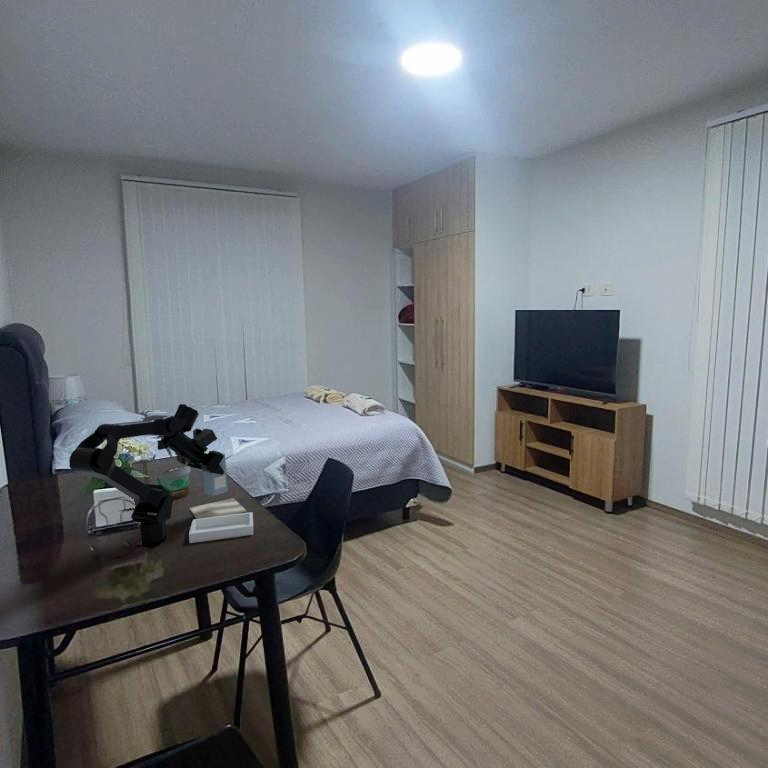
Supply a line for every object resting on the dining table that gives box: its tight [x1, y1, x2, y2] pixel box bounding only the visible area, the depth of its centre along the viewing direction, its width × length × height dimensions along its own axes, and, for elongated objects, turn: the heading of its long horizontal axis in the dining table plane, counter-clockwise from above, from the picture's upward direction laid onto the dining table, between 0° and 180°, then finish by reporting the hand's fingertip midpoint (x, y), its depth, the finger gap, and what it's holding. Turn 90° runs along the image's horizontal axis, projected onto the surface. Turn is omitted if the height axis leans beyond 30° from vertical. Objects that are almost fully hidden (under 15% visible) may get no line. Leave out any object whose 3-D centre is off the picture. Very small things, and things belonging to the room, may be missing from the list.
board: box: [189, 497, 248, 519], centre depth 163 cm, size 14×14×1 cm
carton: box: [202, 452, 229, 497], centre depth 161 cm, size 5×5×12 cm
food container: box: [154, 462, 192, 501], centre depth 178 cm, size 12×6×10 cm, turn 143°
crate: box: [188, 511, 254, 544], centre depth 147 cm, size 17×11×3 cm, turn 104°
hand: (218, 471), depth 162 cm, fingers closed on carton, 5 cm apart
